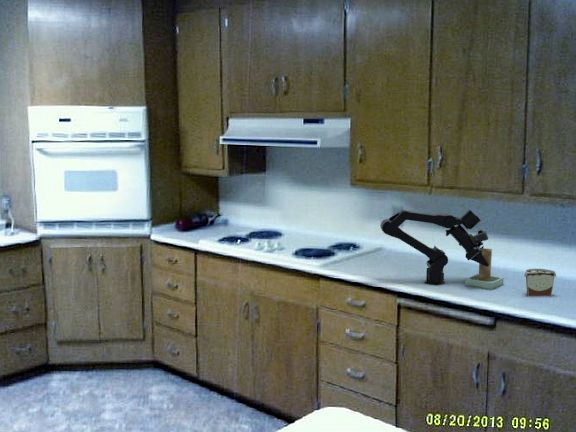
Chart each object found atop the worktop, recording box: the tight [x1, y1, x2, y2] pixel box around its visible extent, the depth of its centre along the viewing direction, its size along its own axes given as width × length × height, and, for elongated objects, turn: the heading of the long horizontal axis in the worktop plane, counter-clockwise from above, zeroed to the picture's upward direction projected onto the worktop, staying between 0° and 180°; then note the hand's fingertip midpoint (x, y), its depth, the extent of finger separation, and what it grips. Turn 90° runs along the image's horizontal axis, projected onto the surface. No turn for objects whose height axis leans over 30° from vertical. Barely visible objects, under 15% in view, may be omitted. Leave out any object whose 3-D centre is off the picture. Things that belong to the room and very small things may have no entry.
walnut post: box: [478, 247, 493, 282], centre depth 272 cm, size 4×4×13 cm
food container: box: [523, 268, 557, 298], centre depth 258 cm, size 12×6×10 cm, turn 92°
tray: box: [464, 273, 504, 291], centre depth 273 cm, size 12×12×3 cm
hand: (488, 264), depth 272 cm, fingers closed on walnut post, 4 cm apart
